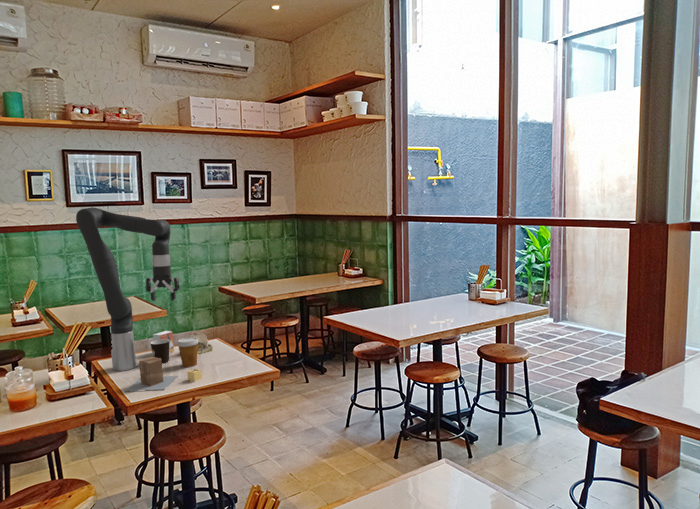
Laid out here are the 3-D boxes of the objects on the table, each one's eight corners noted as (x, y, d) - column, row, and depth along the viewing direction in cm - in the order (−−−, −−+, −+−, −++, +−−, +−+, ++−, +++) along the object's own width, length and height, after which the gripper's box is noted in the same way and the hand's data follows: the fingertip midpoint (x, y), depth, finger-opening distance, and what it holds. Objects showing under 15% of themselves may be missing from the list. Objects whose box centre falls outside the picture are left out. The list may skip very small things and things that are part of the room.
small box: (161, 356, 261) (159, 335, 260) (154, 354, 264) (152, 334, 263) (174, 351, 267) (172, 331, 266) (167, 350, 270) (165, 330, 269)
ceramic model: (186, 357, 257) (184, 337, 256) (180, 352, 266) (179, 332, 265) (214, 351, 264) (213, 332, 263) (208, 346, 273) (206, 328, 272)
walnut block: (141, 384, 219) (139, 360, 218) (153, 379, 224) (151, 356, 223) (151, 386, 215) (148, 362, 214) (163, 381, 221) (161, 358, 220)
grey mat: (125, 391, 212) (124, 390, 212) (141, 378, 228) (141, 377, 228) (164, 390, 211) (164, 389, 211) (177, 376, 227) (177, 375, 227)
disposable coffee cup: (203, 361, 247) (201, 336, 246) (195, 368, 238) (193, 342, 237) (184, 362, 248) (181, 337, 247) (175, 368, 239) (173, 342, 238)
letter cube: (188, 380, 222) (187, 371, 221) (195, 377, 225) (194, 368, 224) (194, 382, 219) (193, 372, 219) (201, 379, 223) (201, 369, 222)
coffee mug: (171, 363, 247) (169, 342, 246) (151, 366, 245) (149, 345, 244) (171, 356, 258) (170, 336, 257) (153, 359, 256) (151, 339, 255)
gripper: (142, 266, 231) (144, 302, 232) (174, 265, 231) (176, 301, 232) (149, 264, 238) (151, 299, 240) (180, 263, 238) (182, 298, 239)
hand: (163, 300), depth 236 cm, fingers open, 8 cm apart
